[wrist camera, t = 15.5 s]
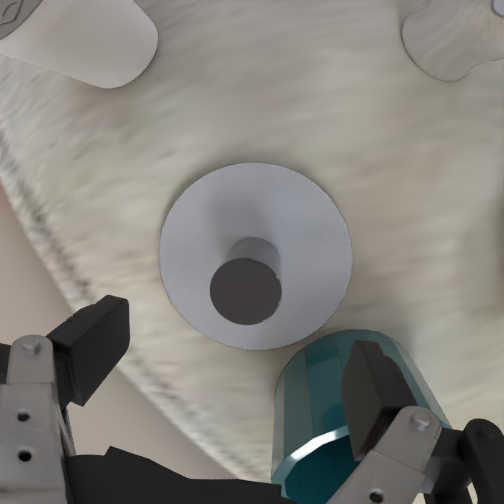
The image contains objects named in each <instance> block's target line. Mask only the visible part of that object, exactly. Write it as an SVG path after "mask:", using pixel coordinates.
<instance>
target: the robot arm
mask: <svg viewBox="0 0 504 504" xmlns="http://www.w3.org/2000/svg"><path fill="white" fill-rule="evenodd" d="M129 342H130V326H129V303H128V300H127V299H124V298H120V297H116V296H112V295H106V296H105V297H103V298H102V299H101V300H100V301H98V302H97V303H96V304H92V305H89V306H87V307H84V308H81V309H80V310H79V311H77V312H76V313H75V314H73V316H71V317H69V318H68V319H67V320H66V322H65V321H64V322H63V323H62V324H60V325H59V326H58V327H57V328H55V329H54V330H53V331H52V332H50V333H49V334H48V335H47V336H45V337H44V336H41V335H27V336H23V337H20V338H19V339H17V340H16V341H14V342H13V344H12V345H7V344H1V343H0V504H300V503H298V502H296V501H293V500H291V499H288V498H285V497H282V496H281V489H282V485H280V484H270V483H262V482H254V481H247V480H240V479H221V480H220V479H219V480H218V479H217V480H216V479H215V480H209V479H189V478H186V477H184V476H182V475H180V474H178V473H176V472H174V471H172V470H170V469H168V468H166V467H164V466H161V465H160V464H158V463H156V462H154V461H152V460H150V459H148V458H145V457H142V456H139V455H135V454H132V453H129V452H127V451H124V450H121V449H118V448H115V447H112V446H110V447H109V449H108V450H107V452H106V454H105V455H104V456H103V455H76V452H75V447H74V442H73V438H72V432H71V427H70V421H69V415H68V410H67V405H68V404H69V402H73V403H75V404H78V405H80V406H82V407H83V406H84V405H85V403H86V402H87V401H88V400H89V398H90V397H91V396H92V394H93V393H94V392H95V391H96V389H97V388H98V387H99V386H100V384H101V383H102V381H103V380H104V379H105V378H106V377H107V375H108V374H109V373H110V372H111V370H112V369H113V368H114V367H115V365H116V364H117V363H118V362H119V360H120V359H121V358H122V357H123V356H124V354H125V353H126V351H127V349H128V346H129ZM406 382H407V381H406V379H405V377H404V376H403V373H402V371H401V369H400V367H399V365H398V364H397V363H396V362H395V361H394V360H392V359H391V358H390V357H389V356H384V354H383V352H382V350H381V348H380V346H379V344H378V342H377V341H369V340H359V339H356V340H355V342H354V343H353V346H352V349H351V352H350V355H349V358H348V361H347V364H346V367H345V370H344V373H343V376H342V380H341V396H342V401H343V405H344V410H345V415H346V420H347V426H348V431H349V436H350V441H351V447H352V452H353V458H354V461H362V462H361V463H360V464H359V465H358V467H357V468H356V469H355V470H354V472H353V473H352V474H351V475H350V477H349V478H348V479H347V480H346V481H345V483H344V484H343V485H342V486H341V487H340V488H339V489H338V491H337V492H336V493H335V494H334V495H333V496H332V497H331V498H330V500H329V501H328V502H327V503H326V504H412V503H413V501H414V499H415V497H416V496H417V494H418V492H419V493H423V494H424V499H425V503H426V504H473V503H472V500H471V497H470V494H469V491H468V488H467V487H468V486H469V484H470V483H471V482H472V483H473V486H474V488H475V491H476V494H477V498H478V502H477V504H504V435H503V434H502V432H501V430H500V429H499V428H498V427H497V426H496V425H495V424H494V423H492V422H490V421H488V420H485V419H473V420H471V421H469V422H468V424H467V425H466V427H465V428H464V430H463V431H460V430H454V429H449V428H444V427H442V423H441V421H440V419H439V417H438V416H437V415H436V414H435V413H433V412H432V411H430V410H429V409H426V408H424V407H420V406H418V404H417V402H416V400H415V398H414V396H413V394H412V392H411V390H410V387H409V385H408V383H406Z"/></svg>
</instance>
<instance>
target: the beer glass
mask: <svg viewBox="0 0 504 504" xmlns="http://www.w3.org/2000/svg"><path fill="white" fill-rule="evenodd" d="M402 38H403V42H404V45H405V47H406V50H407V51H408V53H409V55H410V56H411V58H412V59H413V60H414V62H415V63H416V64H417V65H418V66H419V67H420V68H421V69H422V70H423V71H425V72H426V73H428V74H429V75H431V76H433V77H434V78H437V79H439V80H443V81H457V80H460V79H462V78H464V77H465V76H466V75H468V74H469V73H470V72H471V71H472V70H473V69H474V68H475V67H476V66H477V65H479V64H481V63H484V62H488V61H494V60H503V59H504V0H430V1H429V2H428V3H427V4H425V5H424V6H422V7H420V8H418V9H417V10H415V11H413V12H412V13H410V14H409V15H408V16H407V17H406V19H405V20H404V23H403V26H402Z"/></svg>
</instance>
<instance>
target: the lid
mask: <svg viewBox="0 0 504 504" xmlns="http://www.w3.org/2000/svg"><path fill="white" fill-rule="evenodd" d="M159 266H160V273H161V277H162V281H163V284H164V287H165V289H166V292H167V294H168V296H169V298H170V300H171V301H172V303H173V305H174V306H175V308H176V309H177V310H178V312H179V313H180V314H181V316H182V317H183V318H184V319H185V320H186V321H187V322H188V323H189V324H190V325H192V326H193V327H194V328H195V329H196V330H198V331H199V332H201V333H202V334H204V335H205V336H207V337H208V338H210V339H213V340H215V341H217V342H219V343H222V344H224V345H227V346H230V347H235V348H239V349H247V350H268V349H276V348H280V347H284V346H288V345H290V344H293V343H296V342H298V341H300V340H302V339H304V338H306V337H308V336H309V335H311V334H312V333H314V332H315V331H316V330H318V329H319V328H320V327H321V326H322V325H323V324H324V323H326V322H327V321H328V319H329V318H330V317H331V316H332V315H333V313H334V312H335V311H336V309H337V308H338V306H339V305H340V303H341V301H342V299H343V297H344V295H345V293H346V291H347V288H348V284H349V281H350V277H351V271H352V245H351V239H350V235H349V232H348V228H347V226H346V223H345V221H344V219H343V216H342V215H341V213H340V211H339V210H338V208H337V206H336V205H335V203H334V202H333V201H332V200H331V198H330V197H329V196H328V195H327V194H326V193H325V192H324V191H323V190H322V189H321V188H320V187H319V186H318V185H316V184H315V183H314V182H312V181H311V180H309V179H308V178H307V177H305V176H303V175H301V174H299V173H297V172H295V171H293V170H290V169H287V168H285V167H282V166H278V165H273V164H268V163H255V162H253V163H239V164H234V165H230V166H226V167H223V168H220V169H217V170H214V171H212V172H211V173H209V174H207V175H205V176H203V177H201V178H200V179H199V180H197V181H196V182H194V183H193V184H192V185H191V186H189V187H188V188H187V189H186V190H185V191H184V192H183V193H182V194H181V196H180V197H179V198H178V199H177V201H176V202H175V203H174V205H173V207H172V208H171V210H170V212H169V213H168V215H167V218H166V220H165V222H164V225H163V228H162V232H161V236H160V243H159Z"/></svg>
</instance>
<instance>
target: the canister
mask: <svg viewBox="0 0 504 504" xmlns="http://www.w3.org/2000/svg"><path fill="white" fill-rule="evenodd" d="M356 339H359V340H369V341H377V342H378V344H379V346H380V348H381V350H382V352H383V354H384V356H389V357H390V358H391V359H392V360H394V361H395V362H396V363H397V364H398V365H399V367H400V369H401V371H402V373H403V376H404V377H405V379H406V381H407V382H406V383H408V385H409V387H410V390H411V392H412V394H413V396H414V398H415V400H416V402H417V404H418V406H420V407H424V408H426V409H429V410H430V411H432V412H433V413H435V414H436V415H437V416H438V417H439V419H440V421H441V423H442V427H444V428H449V429H452V427H451V425H450V423H449V422H448V420H447V418H446V416H445V414H444V413H443V411H442V409H441V407H440V405H439V404H438V402H437V400H436V398H435V397H434V395H433V393H432V392H431V390H430V388H429V386H428V385H427V383H426V381H425V380H424V378H423V376H422V375H421V373H420V371H419V370H418V368H417V366H416V365H415V363H414V361H413V360H412V358H411V357H410V355H409V353H408V352H407V351H406V350H404V348H403V347H402V346H401V345H400V344H399V343H398V342H397V341H395V340H394V339H392V338H391V337H388V336H386V335H384V334H381V333H378V332H374V331H368V330H350V331H343V332H338V333H334V334H331V335H328V336H325V337H323V338H320V339H318V340H316V341H314V342H312V343H311V344H309V345H307V346H306V347H305V348H303V349H302V350H300V351H299V352H298V353H297V354H296V355H295V356H294V357H293V358H292V359H291V360H290V361H289V362H288V364H287V365H286V366H285V368H284V369H283V371H282V373H281V375H280V377H279V381H278V384H277V388H276V390H275V410H274V432H273V451H272V469H271V483H272V484H280V485H282V489H281V496H282V497H285V498H288V499H291V500H293V501H296V502H298V503H300V504H326V503H327V502H328V501H329V500H330V498H331V497H332V496H333V495H334V494H335V493H336V492H337V491H338V489H339V488H340V487H341V486H342V485H343V484H344V483H345V481H346V480H347V479H348V478H349V477H350V475H351V474H352V473H353V472H354V470H355V469H356V468H357V467H358V465H359V464H360V463H361V462H362V461H354V458H353V452H352V447H351V441H350V436H349V431H348V426H347V420H346V415H345V410H344V405H343V401H342V396H341V380H342V376H343V373H344V370H345V367H346V364H347V361H348V358H349V355H350V352H351V349H352V346H353V343H354V342H355V340H356ZM418 493H419V492H418Z"/></svg>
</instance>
